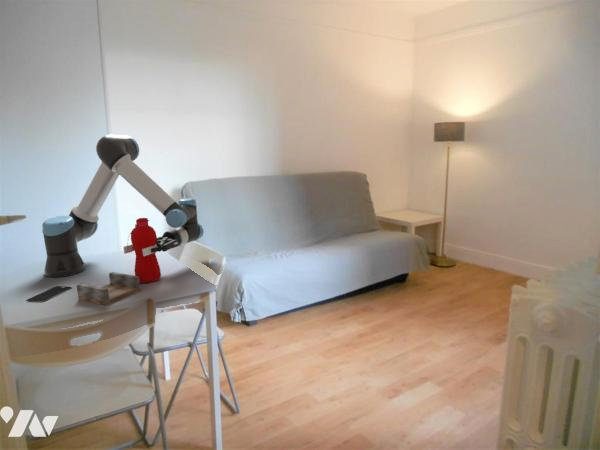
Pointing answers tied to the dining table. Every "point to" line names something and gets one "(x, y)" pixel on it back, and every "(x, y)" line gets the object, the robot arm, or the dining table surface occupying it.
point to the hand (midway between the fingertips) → (133, 251)
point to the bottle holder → (110, 289)
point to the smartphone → (49, 294)
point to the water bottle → (142, 239)
